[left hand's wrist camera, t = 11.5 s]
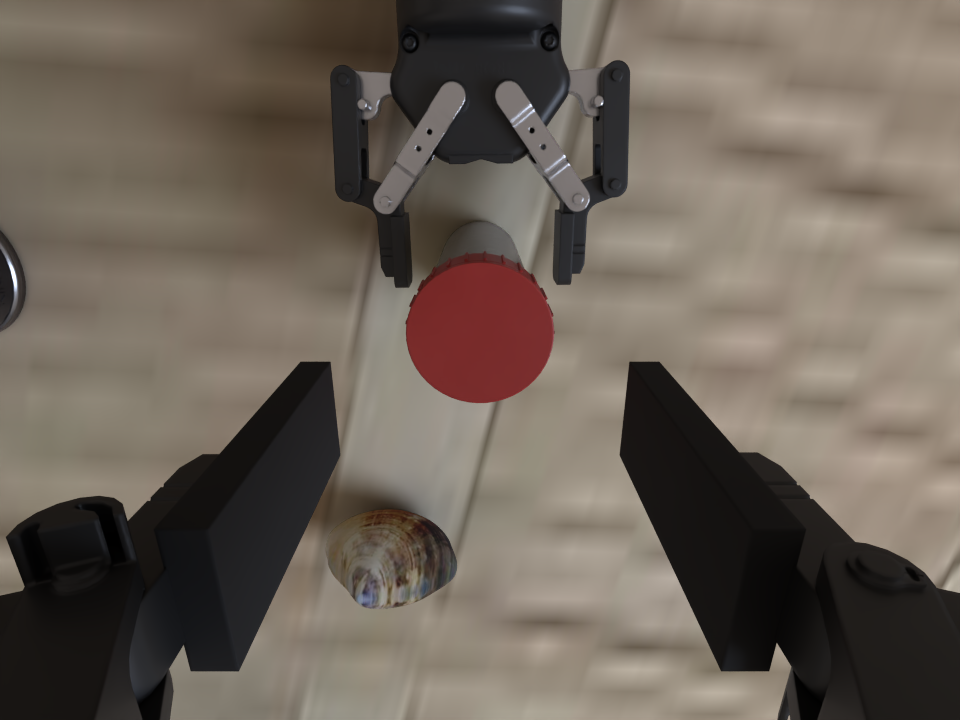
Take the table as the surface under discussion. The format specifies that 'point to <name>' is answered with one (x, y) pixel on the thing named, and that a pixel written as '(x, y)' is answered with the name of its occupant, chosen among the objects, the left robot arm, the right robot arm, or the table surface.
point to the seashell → (390, 558)
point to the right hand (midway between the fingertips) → (482, 283)
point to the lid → (479, 328)
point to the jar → (479, 242)
